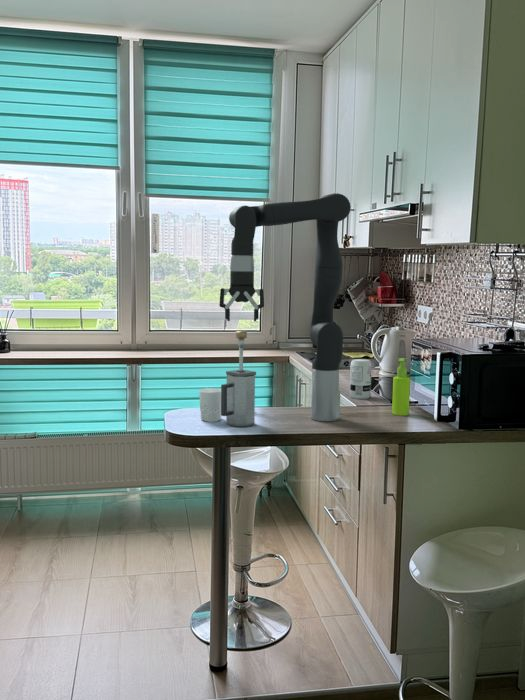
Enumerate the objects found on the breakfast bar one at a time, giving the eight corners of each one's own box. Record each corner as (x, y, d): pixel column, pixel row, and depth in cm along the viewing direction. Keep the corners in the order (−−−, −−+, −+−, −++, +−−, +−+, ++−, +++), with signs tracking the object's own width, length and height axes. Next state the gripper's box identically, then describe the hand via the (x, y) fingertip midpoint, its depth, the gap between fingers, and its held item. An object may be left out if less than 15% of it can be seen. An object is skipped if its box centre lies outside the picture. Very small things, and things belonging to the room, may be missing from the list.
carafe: (243, 419, 226) (244, 368, 224) (262, 424, 219) (263, 371, 217) (213, 425, 217) (213, 372, 214) (232, 430, 210) (232, 375, 208)
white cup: (219, 422, 221) (219, 393, 219) (196, 421, 222) (196, 391, 221) (225, 417, 228) (225, 388, 227) (203, 416, 230) (203, 387, 229)
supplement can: (347, 395, 270) (348, 358, 268) (367, 395, 271) (368, 358, 269) (352, 399, 262) (353, 361, 260) (372, 399, 263) (374, 361, 261)
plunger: (241, 391, 220) (241, 330, 217) (248, 392, 217) (249, 331, 215) (232, 392, 217) (233, 331, 215) (240, 394, 215) (240, 332, 212)
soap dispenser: (389, 415, 235) (392, 358, 232) (393, 411, 241) (395, 356, 239) (406, 416, 233) (408, 360, 230) (410, 412, 239) (412, 357, 237)
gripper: (264, 270, 216) (264, 320, 218) (220, 269, 216) (220, 319, 218) (264, 270, 209) (263, 322, 211) (218, 269, 209) (218, 321, 211)
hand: (241, 320), depth 214 cm, fingers open, 8 cm apart
